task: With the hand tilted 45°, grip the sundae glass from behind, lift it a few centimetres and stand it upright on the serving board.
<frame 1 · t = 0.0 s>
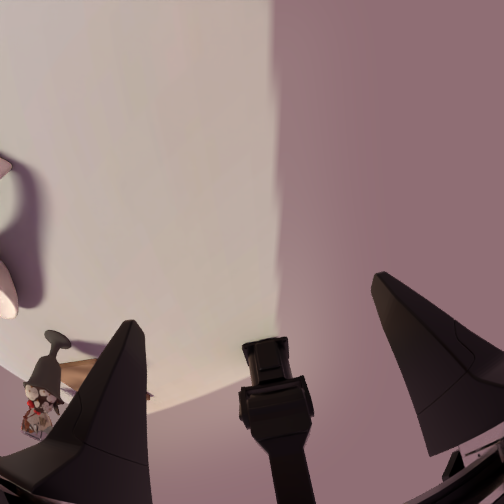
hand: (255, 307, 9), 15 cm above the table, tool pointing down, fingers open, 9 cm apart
serving board: (96, 382, 42), on the table
wine glass: (46, 382, 43), on the table
sundae: (57, 338, 33), on the table
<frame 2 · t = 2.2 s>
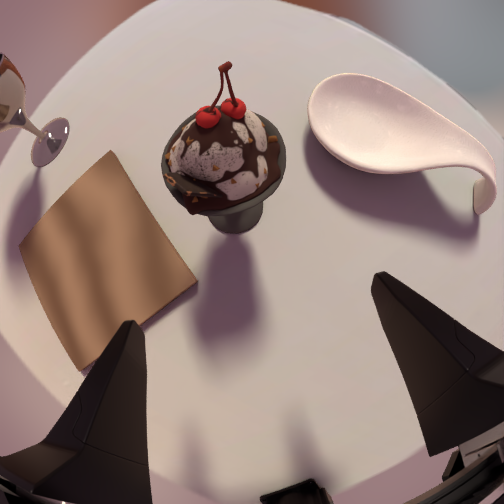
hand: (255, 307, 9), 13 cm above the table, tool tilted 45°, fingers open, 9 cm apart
serving board: (90, 261, 23), on the table
wine glass: (49, 141, 25), on the table
sundae: (234, 205, 24), on the table
spoon rest: (405, 157, 25), on the table
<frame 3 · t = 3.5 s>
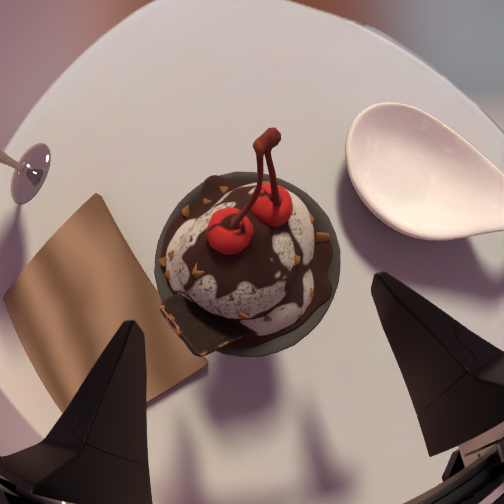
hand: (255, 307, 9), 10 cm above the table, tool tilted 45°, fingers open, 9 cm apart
serving board: (81, 327, 19), on the table
wine glass: (30, 173, 21), on the table
sundae: (250, 272, 20), on the table
spoon rest: (444, 206, 20), on the table
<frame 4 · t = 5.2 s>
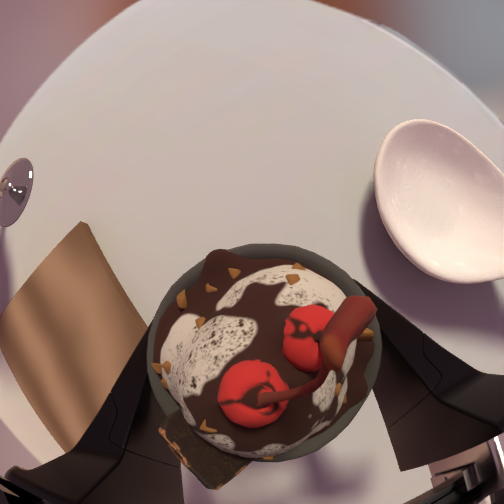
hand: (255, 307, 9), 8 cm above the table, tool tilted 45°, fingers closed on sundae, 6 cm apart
serving board: (74, 367, 16), on the table
wine glass: (13, 191, 18), on the table
sundae: (258, 317, 17), on the table, touching gripper
spoon rest: (468, 237, 18), on the table
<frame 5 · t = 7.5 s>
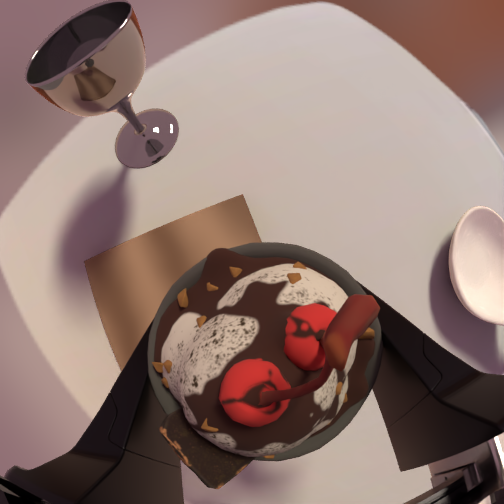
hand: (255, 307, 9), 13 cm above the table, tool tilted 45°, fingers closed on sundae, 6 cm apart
serving board: (188, 317, 22), on the table
wine glass: (146, 137, 24), on the table
sundae: (259, 315, 17), point 6 cm above the table, touching gripper
spoon rest: (488, 295, 23), on the table
when the fingers open (10 cm above the table, at t = 9.7 s): sundae drops 1 cm, resting on serving board.
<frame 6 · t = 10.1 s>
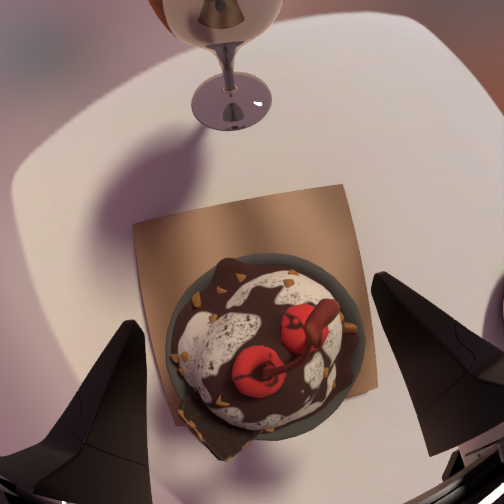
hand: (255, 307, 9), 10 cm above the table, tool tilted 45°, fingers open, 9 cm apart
serving board: (258, 312, 19), on the table
wine glass: (231, 99, 21), on the table
sundae: (258, 314, 18), point 1 cm above the table, touching serving board
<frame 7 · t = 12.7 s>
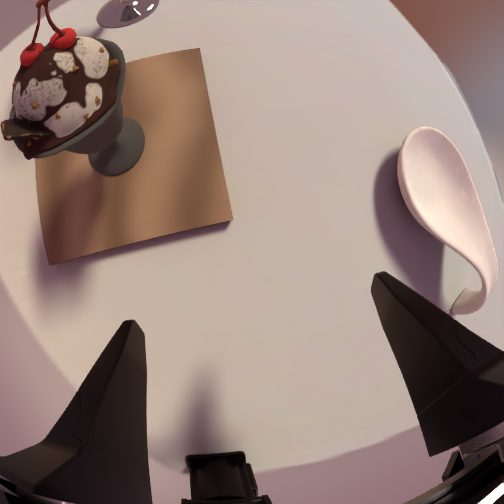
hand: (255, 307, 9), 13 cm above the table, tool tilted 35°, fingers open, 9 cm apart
serving board: (118, 147, 19), on the table
wine glass: (127, 8, 17), on the table
sundae: (116, 145, 18), point 1 cm above the table, touching serving board
spoon rest: (436, 228, 27), on the table
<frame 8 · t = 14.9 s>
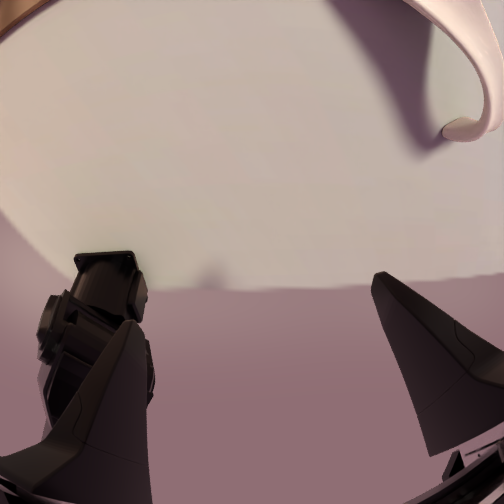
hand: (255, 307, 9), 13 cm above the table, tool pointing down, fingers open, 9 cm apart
spoon rest: (419, 15, 12), on the table
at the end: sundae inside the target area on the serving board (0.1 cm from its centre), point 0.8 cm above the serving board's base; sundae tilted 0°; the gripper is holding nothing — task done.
